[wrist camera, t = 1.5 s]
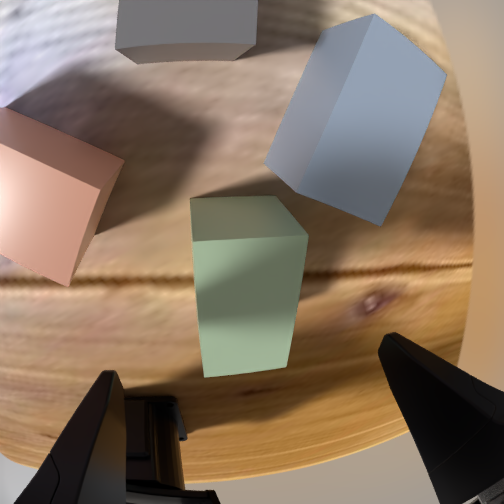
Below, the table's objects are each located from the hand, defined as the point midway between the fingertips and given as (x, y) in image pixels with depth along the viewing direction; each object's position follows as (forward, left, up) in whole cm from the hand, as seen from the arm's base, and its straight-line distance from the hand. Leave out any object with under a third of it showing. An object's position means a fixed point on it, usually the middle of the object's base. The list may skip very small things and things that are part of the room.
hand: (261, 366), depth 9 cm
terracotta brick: (+5, +8, -6) cm, 11 cm away
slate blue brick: (+7, -4, -6) cm, 10 cm away
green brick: (0, 0, -6) cm, 6 cm away
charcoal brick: (+12, +2, -6) cm, 14 cm away
